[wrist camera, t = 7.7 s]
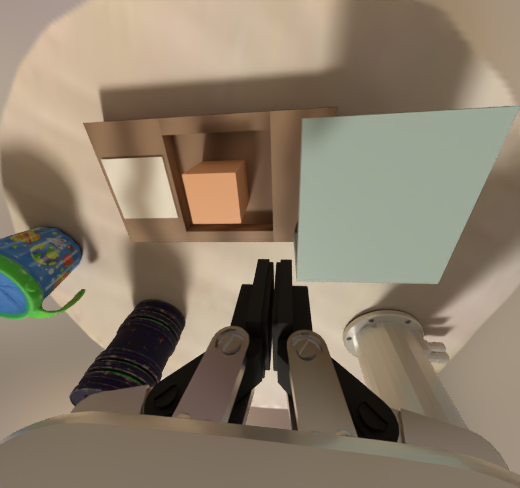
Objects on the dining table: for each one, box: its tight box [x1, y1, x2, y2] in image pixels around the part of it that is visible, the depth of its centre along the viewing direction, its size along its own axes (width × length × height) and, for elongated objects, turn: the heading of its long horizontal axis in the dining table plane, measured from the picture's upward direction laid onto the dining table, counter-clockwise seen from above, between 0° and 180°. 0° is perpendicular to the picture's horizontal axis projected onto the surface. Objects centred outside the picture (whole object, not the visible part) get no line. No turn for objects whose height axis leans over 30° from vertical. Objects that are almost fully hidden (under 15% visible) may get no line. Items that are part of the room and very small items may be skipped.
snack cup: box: [0, 227, 85, 319], centre depth 31 cm, size 16×10×10 cm
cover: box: [294, 106, 520, 284], centre depth 20 cm, size 12×13×8 cm
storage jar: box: [70, 299, 185, 406], centre depth 36 cm, size 10×10×15 cm
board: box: [83, 107, 337, 242], centre depth 26 cm, size 25×14×3 cm, turn 93°
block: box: [182, 160, 249, 224], centre depth 24 cm, size 5×5×6 cm
